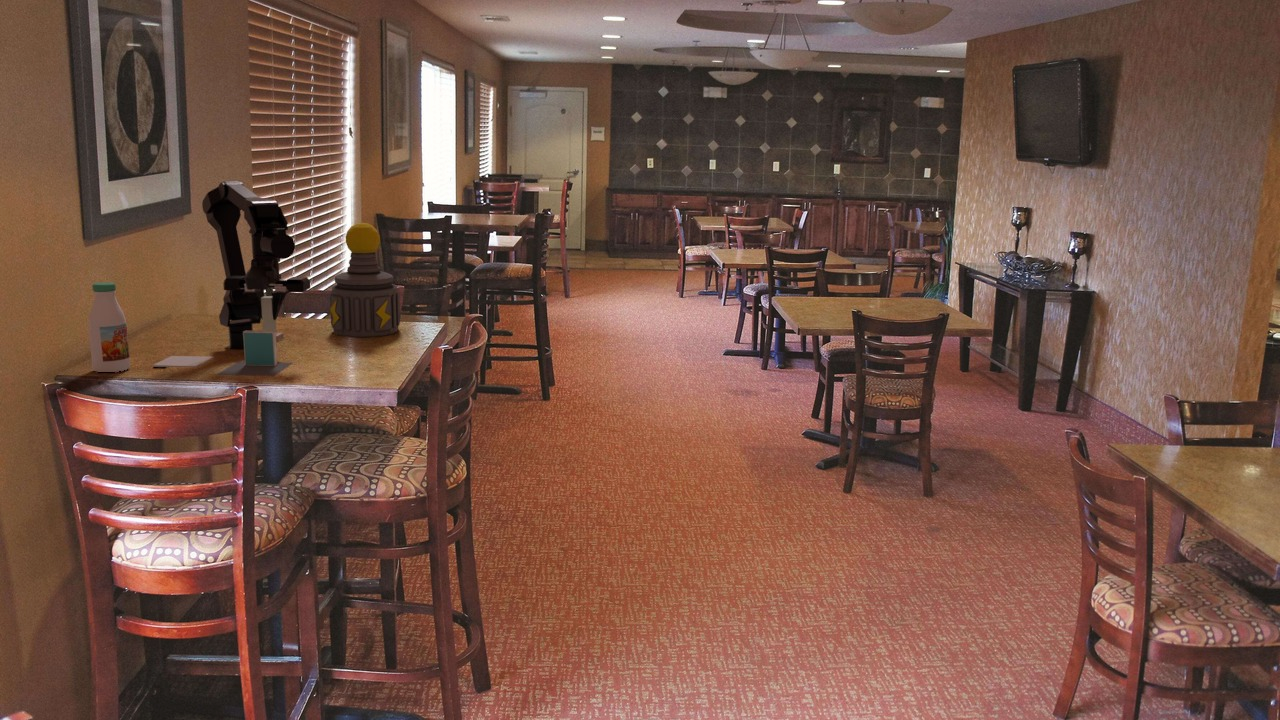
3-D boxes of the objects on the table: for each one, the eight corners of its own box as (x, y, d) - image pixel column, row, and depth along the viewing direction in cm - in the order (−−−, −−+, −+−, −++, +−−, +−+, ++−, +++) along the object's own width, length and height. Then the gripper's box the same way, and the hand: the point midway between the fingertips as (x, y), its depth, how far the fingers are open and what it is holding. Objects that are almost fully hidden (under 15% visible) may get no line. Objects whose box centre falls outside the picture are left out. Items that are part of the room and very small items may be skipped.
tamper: (262, 338, 250) (260, 295, 247) (283, 338, 250) (281, 295, 247) (256, 341, 246) (254, 298, 243) (278, 342, 246) (275, 298, 244)
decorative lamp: (354, 341, 273) (349, 227, 267) (317, 330, 286) (312, 221, 279) (414, 332, 287) (411, 223, 280) (377, 322, 299) (373, 218, 293)
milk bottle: (89, 374, 232) (80, 286, 227) (96, 367, 239) (88, 281, 234) (127, 373, 234) (119, 285, 229) (133, 365, 241) (125, 280, 237)
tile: (247, 363, 243) (245, 330, 241) (277, 364, 243) (275, 331, 241) (244, 365, 241) (242, 331, 240) (274, 366, 241) (273, 332, 240)
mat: (238, 363, 245) (238, 361, 245) (293, 364, 245) (293, 362, 245) (216, 376, 233) (216, 374, 232) (274, 377, 233) (274, 375, 233)
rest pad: (171, 358, 249) (171, 355, 249) (213, 359, 249) (213, 356, 249) (152, 367, 239) (152, 365, 239) (196, 368, 239) (196, 366, 239)
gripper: (212, 257, 235) (216, 325, 239) (294, 259, 236) (297, 326, 239) (230, 252, 246) (234, 316, 250) (309, 253, 246) (312, 318, 250)
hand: (269, 319), depth 247 cm, fingers closed on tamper, 2 cm apart
